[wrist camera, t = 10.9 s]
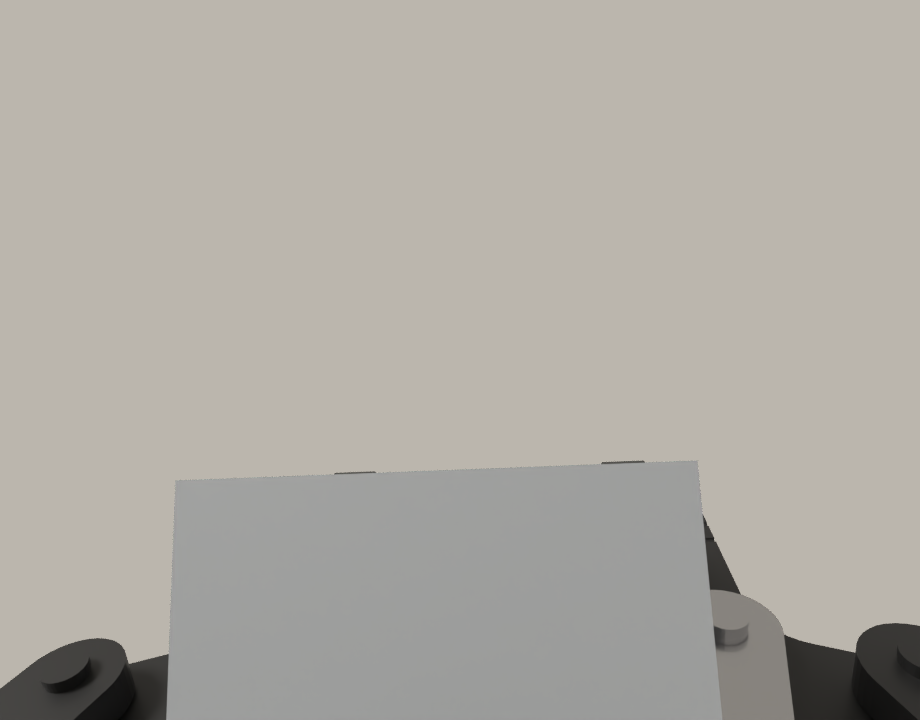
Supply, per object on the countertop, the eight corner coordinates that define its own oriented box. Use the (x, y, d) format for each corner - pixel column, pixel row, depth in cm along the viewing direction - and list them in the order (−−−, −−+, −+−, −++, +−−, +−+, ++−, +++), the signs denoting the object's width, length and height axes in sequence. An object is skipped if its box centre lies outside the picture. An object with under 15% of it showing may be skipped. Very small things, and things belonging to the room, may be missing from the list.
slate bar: (151, 1076, 5) (174, 481, 5) (460, 594, 25) (456, 483, 26) (761, 1104, 4) (697, 460, 5) (570, 592, 25) (564, 479, 26)
